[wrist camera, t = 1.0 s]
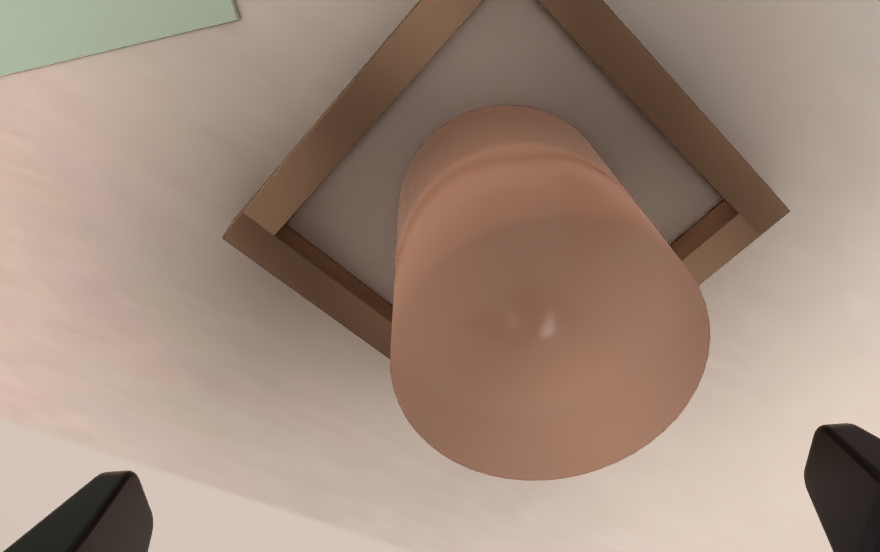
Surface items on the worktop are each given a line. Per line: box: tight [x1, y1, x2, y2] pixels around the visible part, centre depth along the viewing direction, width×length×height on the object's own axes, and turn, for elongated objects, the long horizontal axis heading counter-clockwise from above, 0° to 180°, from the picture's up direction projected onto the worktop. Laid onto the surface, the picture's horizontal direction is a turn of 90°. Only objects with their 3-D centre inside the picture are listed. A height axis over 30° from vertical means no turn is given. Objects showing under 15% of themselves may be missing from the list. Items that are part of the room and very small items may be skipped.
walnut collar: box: [222, 0, 790, 359], centre depth 19 cm, size 11×11×1 cm
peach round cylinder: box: [390, 105, 710, 480], centre depth 16 cm, size 7×6×8 cm
